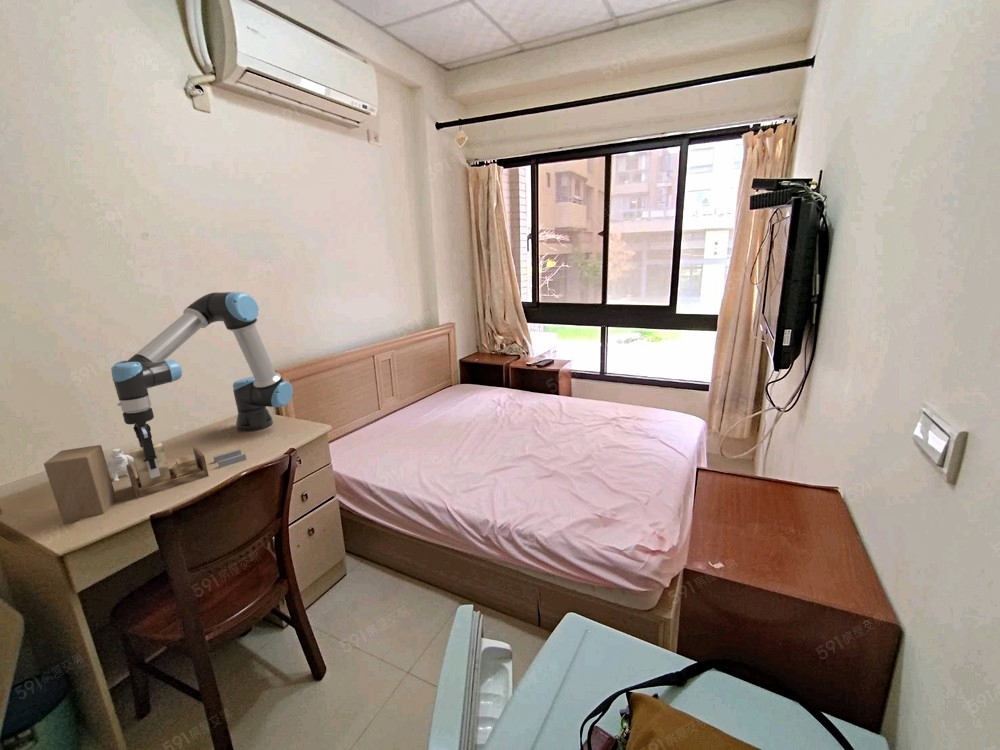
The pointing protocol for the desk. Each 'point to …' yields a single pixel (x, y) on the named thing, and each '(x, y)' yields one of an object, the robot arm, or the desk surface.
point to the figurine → (118, 463)
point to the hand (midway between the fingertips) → (153, 474)
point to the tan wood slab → (142, 466)
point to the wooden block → (80, 483)
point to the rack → (169, 482)
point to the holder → (229, 458)
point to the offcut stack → (185, 466)
